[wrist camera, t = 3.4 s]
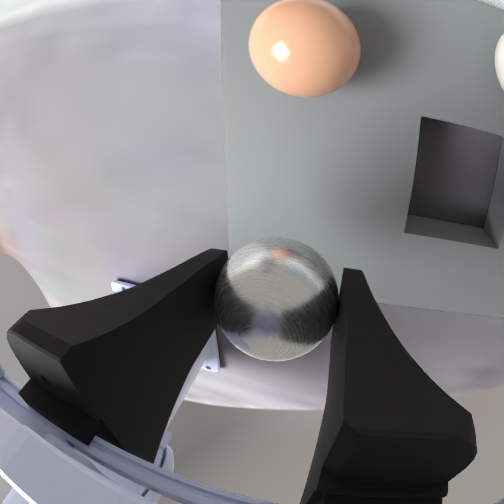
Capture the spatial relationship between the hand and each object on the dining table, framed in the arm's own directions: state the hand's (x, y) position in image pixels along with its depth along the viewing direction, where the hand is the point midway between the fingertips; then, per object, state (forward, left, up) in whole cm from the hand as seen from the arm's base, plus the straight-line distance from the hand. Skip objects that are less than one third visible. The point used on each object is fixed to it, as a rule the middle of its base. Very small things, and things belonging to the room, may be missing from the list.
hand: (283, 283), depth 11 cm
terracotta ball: (0, +8, -3) cm, 9 cm away
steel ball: (0, 0, +1) cm, 1 cm away
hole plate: (+5, +4, -7) cm, 10 cm away
